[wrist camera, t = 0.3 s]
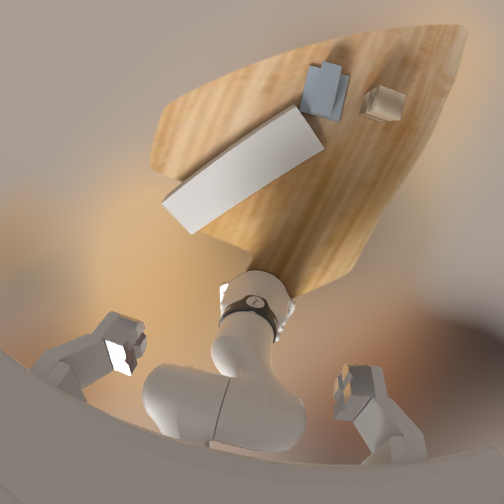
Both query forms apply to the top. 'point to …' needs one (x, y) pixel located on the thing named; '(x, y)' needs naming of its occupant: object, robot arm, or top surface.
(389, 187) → the top surface
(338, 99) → the ridge block
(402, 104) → the ash post
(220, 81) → the top surface
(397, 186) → the top surface
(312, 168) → the top surface
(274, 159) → the decorative molding
